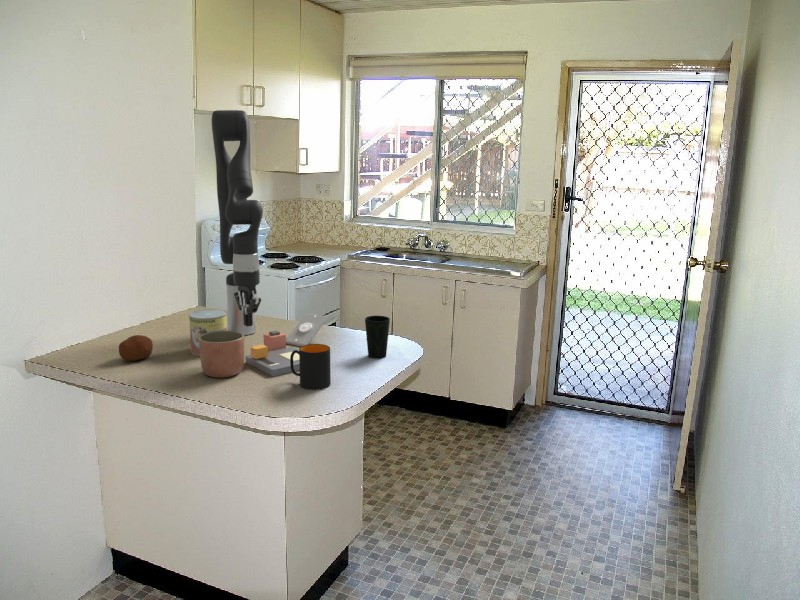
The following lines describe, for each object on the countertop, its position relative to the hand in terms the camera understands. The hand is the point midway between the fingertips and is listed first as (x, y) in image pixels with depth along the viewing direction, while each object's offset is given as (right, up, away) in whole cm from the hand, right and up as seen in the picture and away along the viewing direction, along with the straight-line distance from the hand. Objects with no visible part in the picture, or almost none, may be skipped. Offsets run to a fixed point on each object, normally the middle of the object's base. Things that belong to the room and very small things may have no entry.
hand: (248, 325), depth 201 cm
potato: (-34, -10, +1) cm, 35 cm away
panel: (+11, -11, -1) cm, 16 cm away
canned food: (-15, -8, +11) cm, 20 cm away
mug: (+21, -15, -17) cm, 31 cm away
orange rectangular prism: (+4, -9, -2) cm, 10 cm away
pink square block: (+6, -9, +10) cm, 15 cm away
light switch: (+14, -6, +23) cm, 28 cm away
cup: (+38, -10, +8) cm, 40 cm away
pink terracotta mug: (-5, -13, -10) cm, 17 cm away
